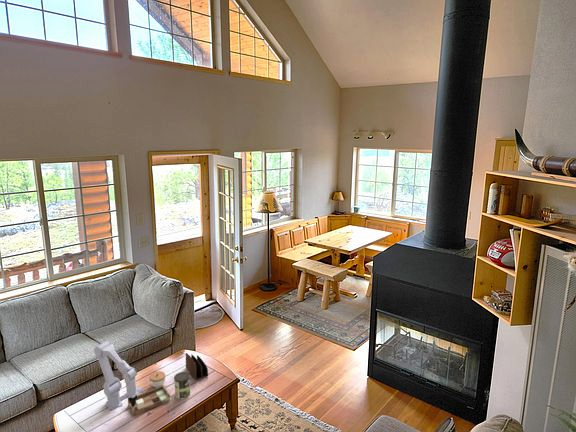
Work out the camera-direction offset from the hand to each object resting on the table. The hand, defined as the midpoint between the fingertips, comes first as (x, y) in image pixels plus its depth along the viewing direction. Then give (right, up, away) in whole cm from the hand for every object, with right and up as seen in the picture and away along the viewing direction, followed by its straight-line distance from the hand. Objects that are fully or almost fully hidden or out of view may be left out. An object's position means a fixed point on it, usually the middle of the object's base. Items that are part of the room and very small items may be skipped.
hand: (132, 405), depth 249 cm
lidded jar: (+7, +1, +28) cm, 29 cm away
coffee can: (+27, -2, +19) cm, 33 cm away
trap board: (+7, -3, +10) cm, 13 cm away
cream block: (+3, -2, +3) cm, 5 cm away
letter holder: (+31, +4, +44) cm, 54 cm away
